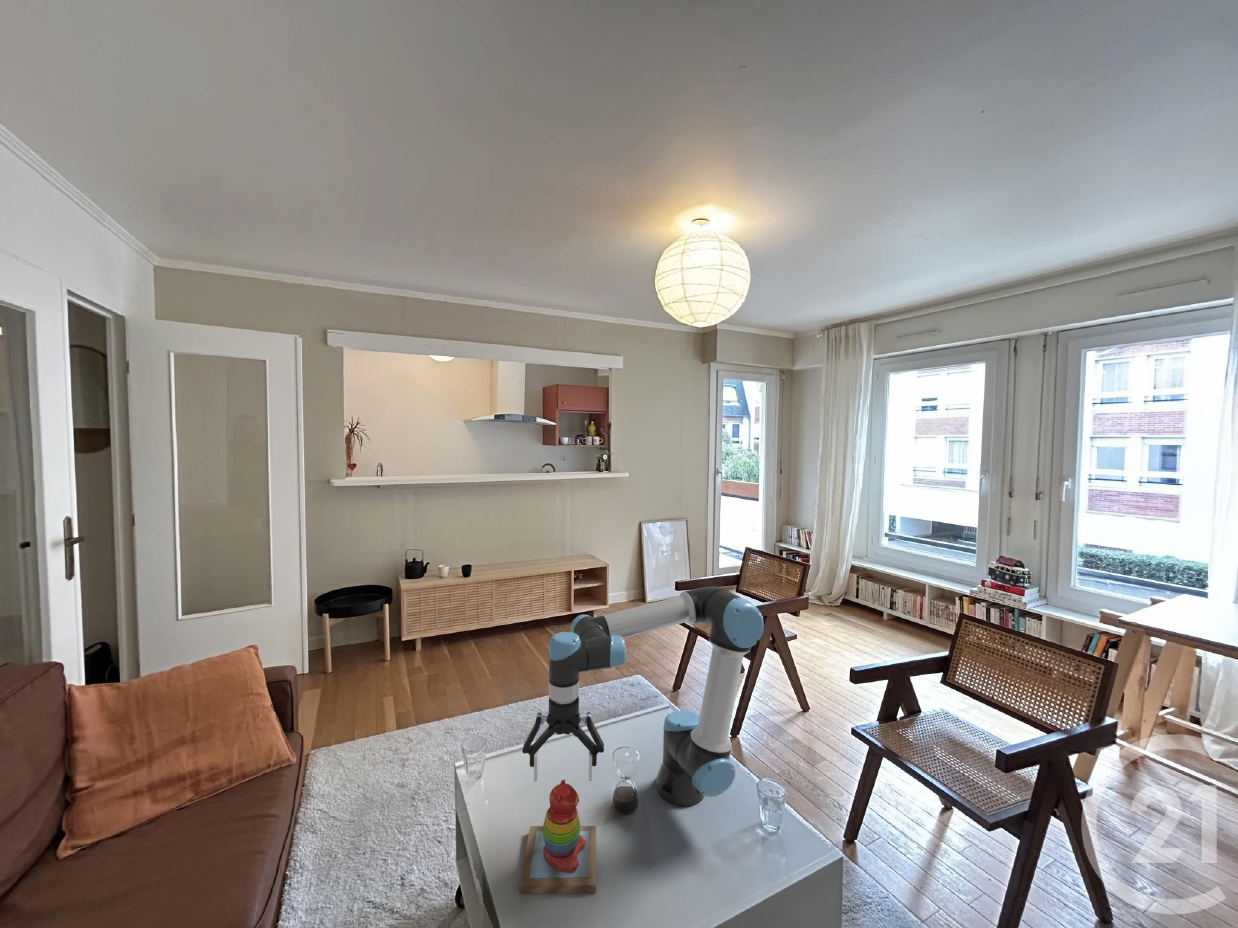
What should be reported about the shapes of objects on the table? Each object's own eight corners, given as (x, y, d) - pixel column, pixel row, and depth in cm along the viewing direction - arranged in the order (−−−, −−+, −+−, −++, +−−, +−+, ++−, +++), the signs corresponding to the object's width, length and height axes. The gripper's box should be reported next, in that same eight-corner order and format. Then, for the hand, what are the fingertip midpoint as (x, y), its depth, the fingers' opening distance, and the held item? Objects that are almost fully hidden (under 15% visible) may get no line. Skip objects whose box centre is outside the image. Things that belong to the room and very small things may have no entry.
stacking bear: (575, 875, 123) (577, 805, 122) (536, 866, 125) (537, 798, 124) (587, 839, 134) (588, 775, 132) (550, 832, 136) (551, 769, 134)
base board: (596, 832, 139) (596, 824, 139) (595, 892, 121) (596, 884, 121) (530, 832, 138) (530, 825, 138) (519, 893, 120) (519, 885, 120)
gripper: (613, 688, 131) (612, 766, 132) (515, 688, 130) (515, 767, 131) (614, 704, 123) (613, 787, 125) (510, 704, 122) (510, 788, 124)
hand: (563, 777), depth 128 cm, fingers open, 13 cm apart
